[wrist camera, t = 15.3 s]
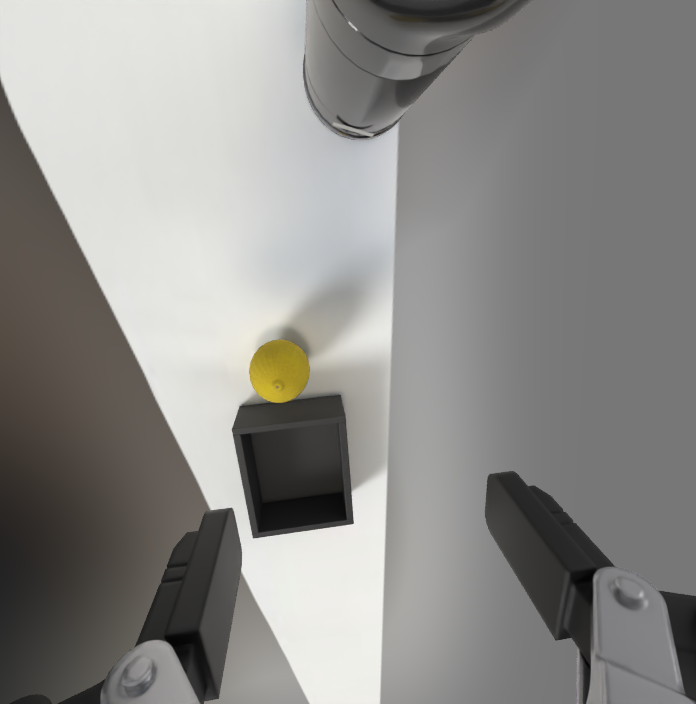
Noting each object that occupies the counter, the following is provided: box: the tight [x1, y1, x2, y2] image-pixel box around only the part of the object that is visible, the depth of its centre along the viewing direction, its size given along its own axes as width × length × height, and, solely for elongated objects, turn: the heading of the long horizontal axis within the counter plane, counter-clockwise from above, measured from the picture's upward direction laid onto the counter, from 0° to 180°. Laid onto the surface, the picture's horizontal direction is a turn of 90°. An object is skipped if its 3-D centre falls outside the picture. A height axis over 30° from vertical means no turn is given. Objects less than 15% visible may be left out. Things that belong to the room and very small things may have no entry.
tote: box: [232, 395, 354, 538], centre depth 40 cm, size 13×11×5 cm
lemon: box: [249, 340, 310, 403], centre depth 35 cm, size 6×6×8 cm
